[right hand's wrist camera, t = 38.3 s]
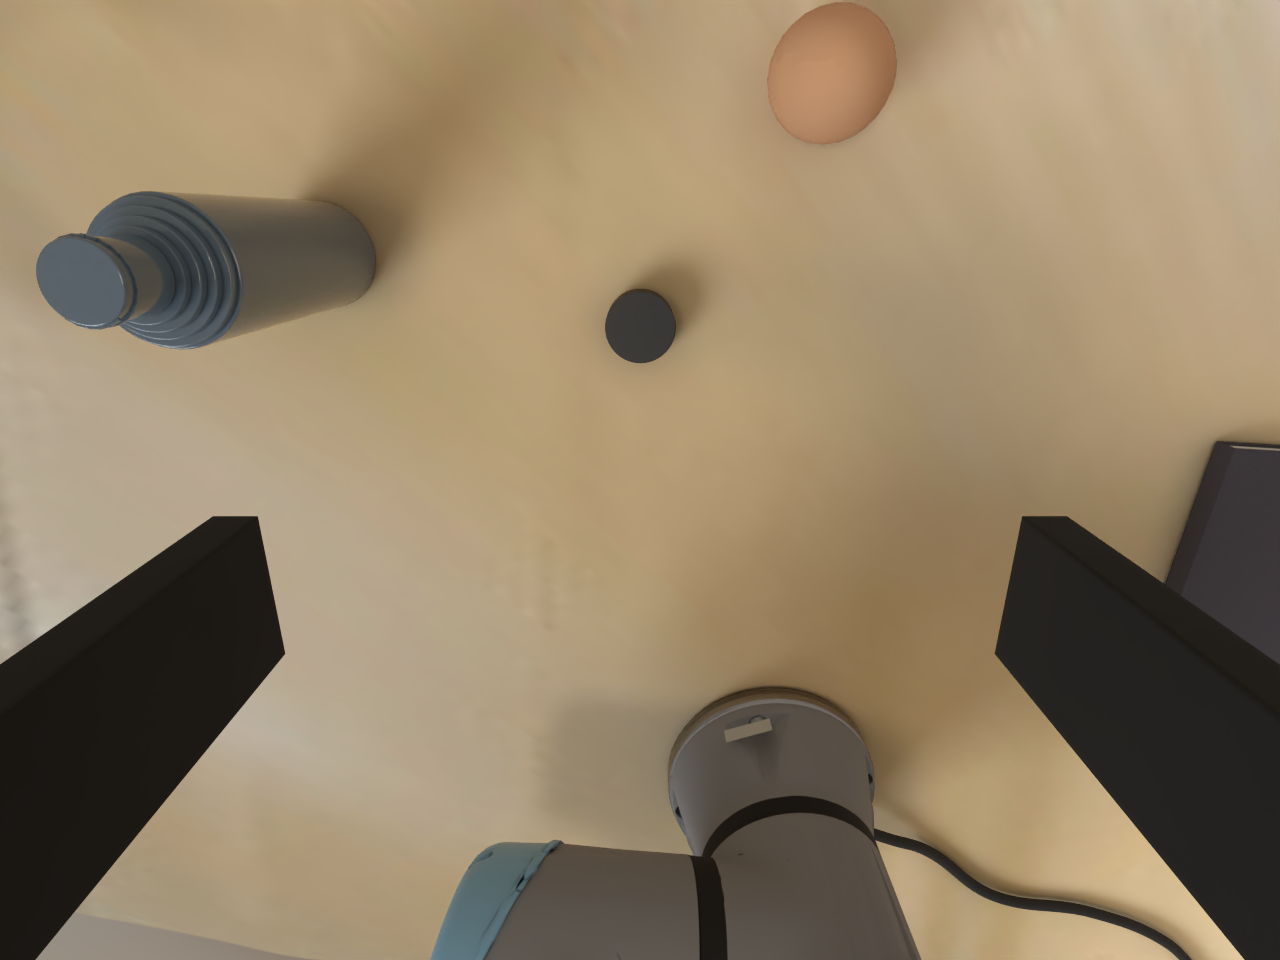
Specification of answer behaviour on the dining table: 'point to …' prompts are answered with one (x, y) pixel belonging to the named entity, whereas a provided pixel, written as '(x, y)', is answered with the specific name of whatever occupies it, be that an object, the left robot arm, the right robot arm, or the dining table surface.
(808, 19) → the egg
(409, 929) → the dining table surface
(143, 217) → the bottle
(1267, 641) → the notebook
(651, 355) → the cap
